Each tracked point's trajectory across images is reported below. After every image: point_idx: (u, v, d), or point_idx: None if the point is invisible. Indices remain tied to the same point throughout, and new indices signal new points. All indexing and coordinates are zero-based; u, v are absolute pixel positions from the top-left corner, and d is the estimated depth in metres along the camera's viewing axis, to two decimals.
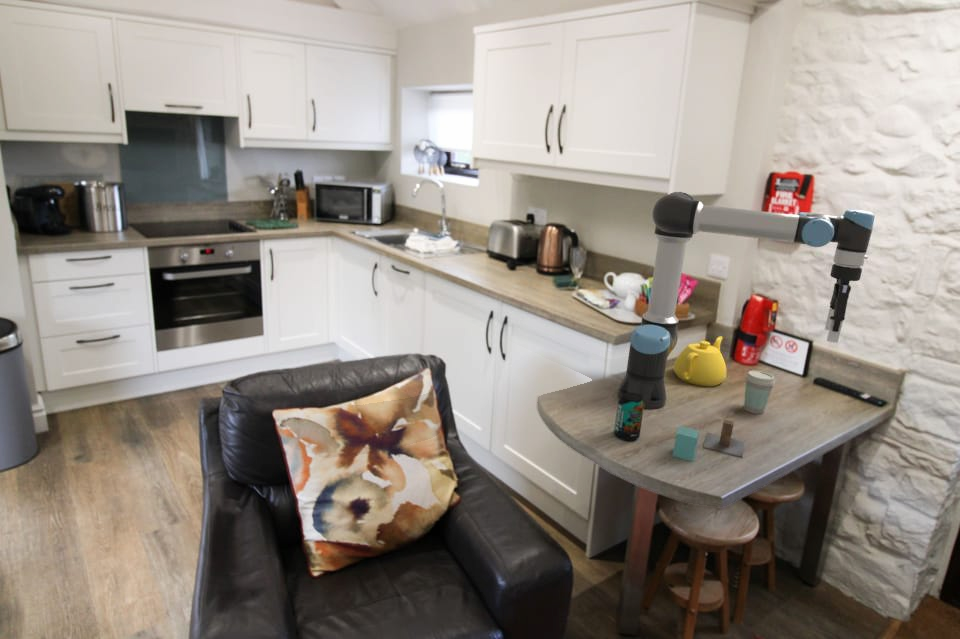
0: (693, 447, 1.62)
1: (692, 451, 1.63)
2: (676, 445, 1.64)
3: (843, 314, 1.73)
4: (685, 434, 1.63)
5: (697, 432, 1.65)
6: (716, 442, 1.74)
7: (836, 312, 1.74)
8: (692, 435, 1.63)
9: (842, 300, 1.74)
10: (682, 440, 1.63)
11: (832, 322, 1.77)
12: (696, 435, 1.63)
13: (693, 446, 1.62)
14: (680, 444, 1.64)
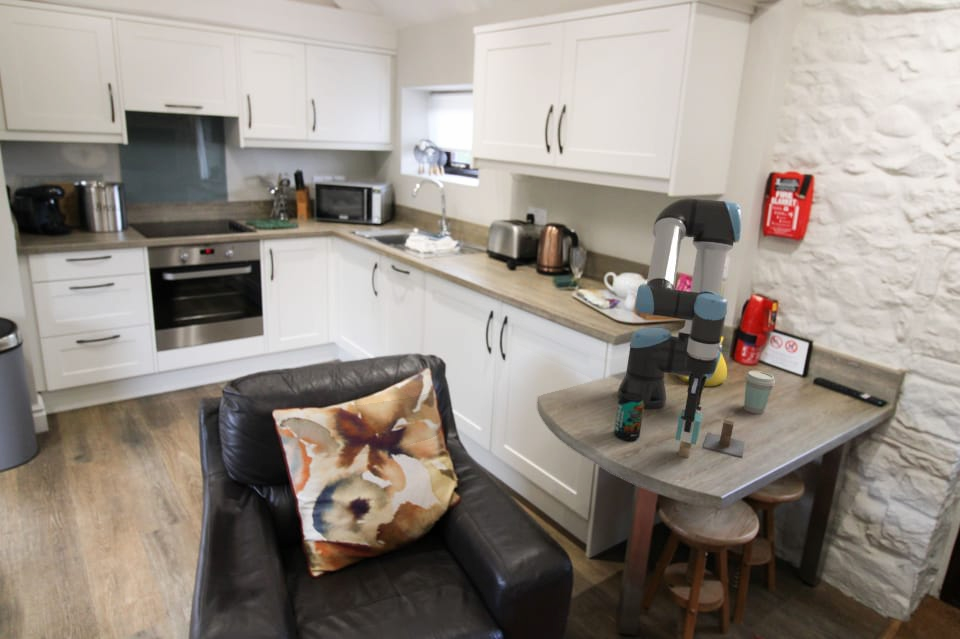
0: (696, 430, 1.62)
1: (695, 434, 1.62)
2: (679, 429, 1.63)
3: (692, 416, 1.57)
4: None
5: (700, 416, 1.64)
6: (716, 442, 1.74)
7: (685, 414, 1.58)
8: (695, 418, 1.62)
9: (691, 401, 1.56)
10: None
11: (684, 421, 1.62)
12: (699, 418, 1.62)
13: (696, 429, 1.61)
14: None
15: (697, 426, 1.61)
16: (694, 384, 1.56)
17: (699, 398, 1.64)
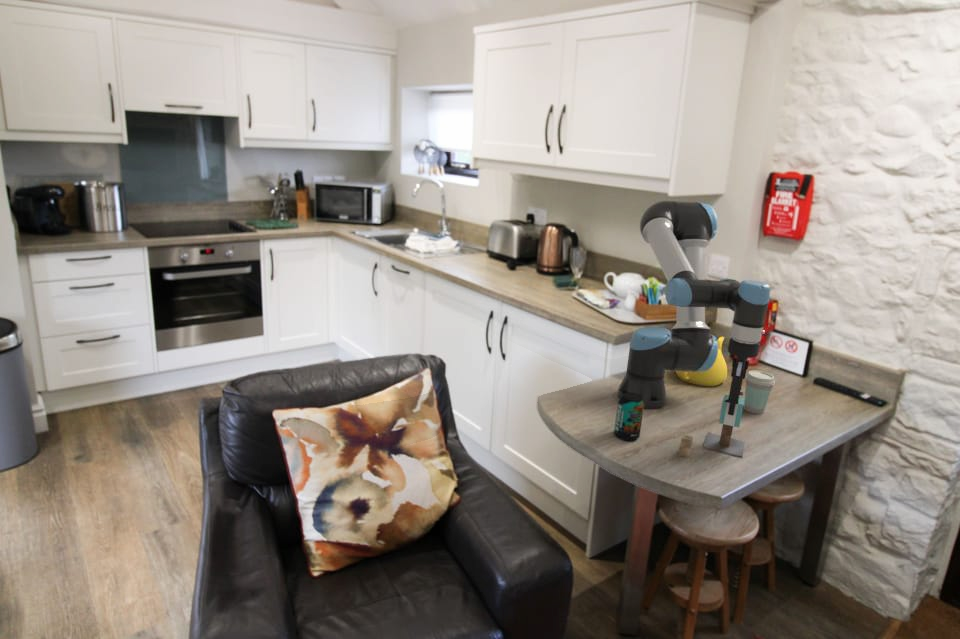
0: (739, 413, 1.67)
1: (738, 417, 1.67)
2: (722, 412, 1.69)
3: (736, 399, 1.63)
4: None
5: (743, 400, 1.69)
6: (716, 442, 1.74)
7: (729, 396, 1.63)
8: None
9: (736, 384, 1.62)
10: None
11: (728, 405, 1.67)
12: (742, 402, 1.67)
13: (739, 413, 1.67)
14: None
15: (741, 409, 1.66)
16: (739, 367, 1.61)
17: (741, 383, 1.70)
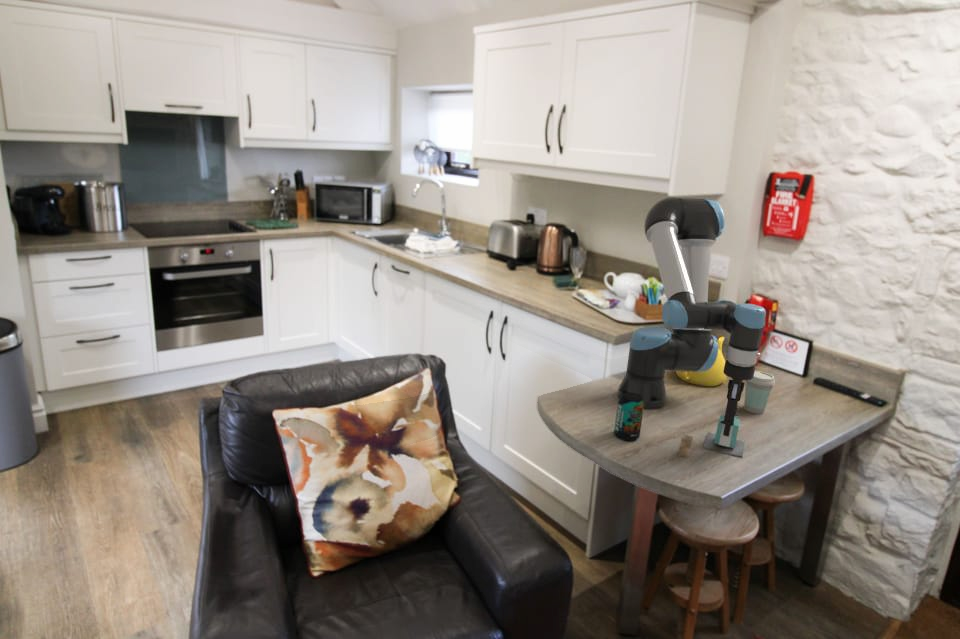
0: (735, 435, 1.69)
1: (734, 438, 1.69)
2: (718, 433, 1.71)
3: (732, 421, 1.65)
4: None
5: (738, 421, 1.71)
6: None
7: (725, 418, 1.65)
8: None
9: (731, 406, 1.64)
10: None
11: (723, 426, 1.69)
12: (737, 423, 1.69)
13: (735, 434, 1.69)
14: None
15: (736, 430, 1.68)
16: (734, 389, 1.63)
17: None
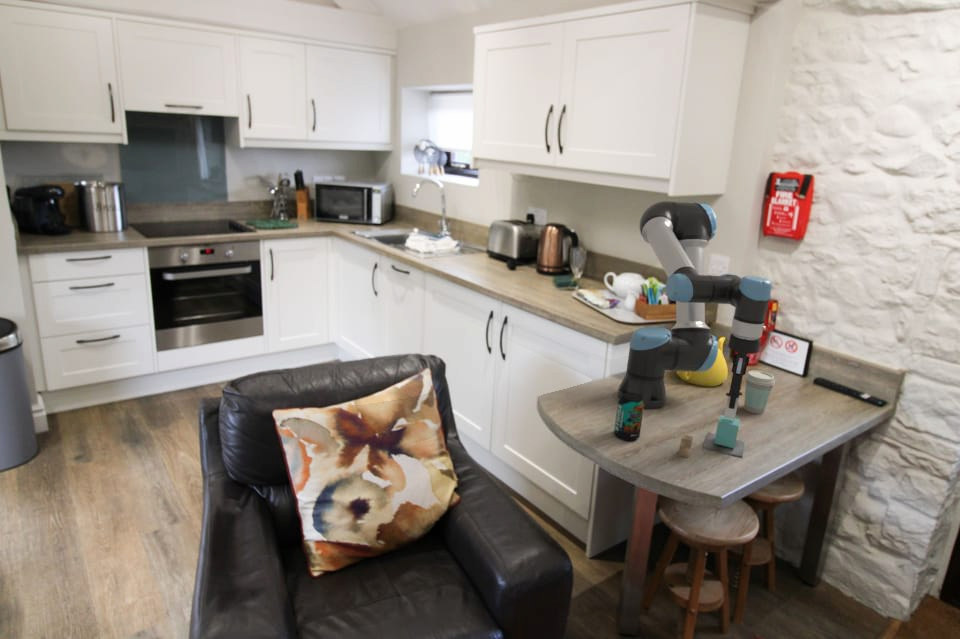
0: (735, 435, 1.69)
1: (734, 438, 1.69)
2: (718, 433, 1.71)
3: (737, 394, 1.65)
4: (727, 422, 1.70)
5: (738, 421, 1.71)
6: None
7: (730, 391, 1.65)
8: (733, 423, 1.69)
9: (736, 380, 1.63)
10: (724, 428, 1.70)
11: (728, 398, 1.69)
12: (737, 423, 1.69)
13: (735, 434, 1.69)
14: (722, 432, 1.70)
15: (736, 430, 1.68)
16: (739, 365, 1.62)
17: (741, 381, 1.68)
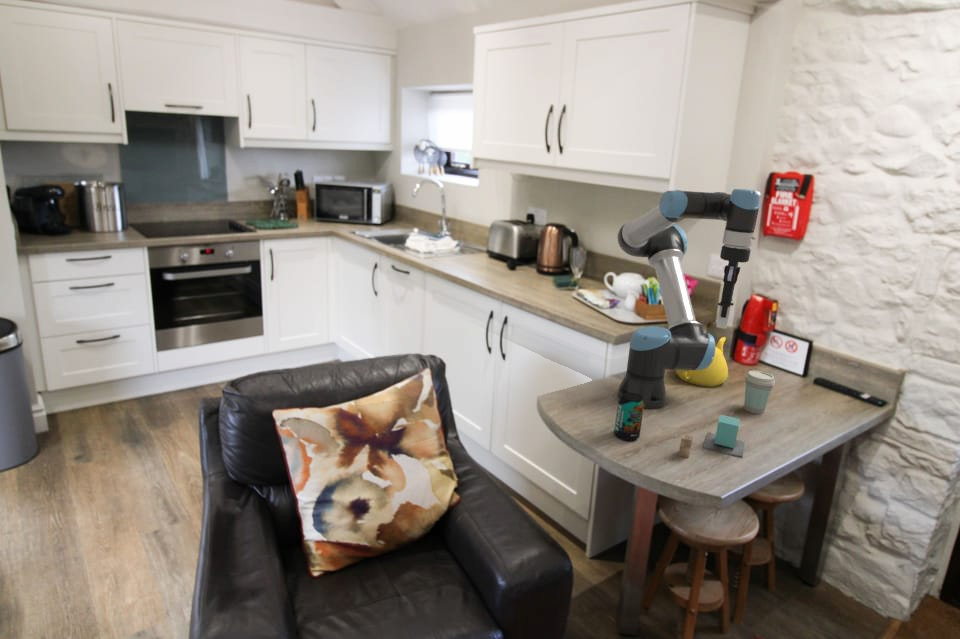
0: (735, 435, 1.69)
1: (734, 438, 1.69)
2: (718, 433, 1.71)
3: (728, 301, 1.74)
4: (727, 422, 1.70)
5: (738, 421, 1.71)
6: None
7: (722, 300, 1.74)
8: (733, 423, 1.69)
9: (727, 288, 1.72)
10: (724, 428, 1.70)
11: (720, 308, 1.78)
12: (737, 423, 1.69)
13: (735, 434, 1.69)
14: (722, 432, 1.70)
15: (736, 430, 1.68)
16: (730, 273, 1.71)
17: None
